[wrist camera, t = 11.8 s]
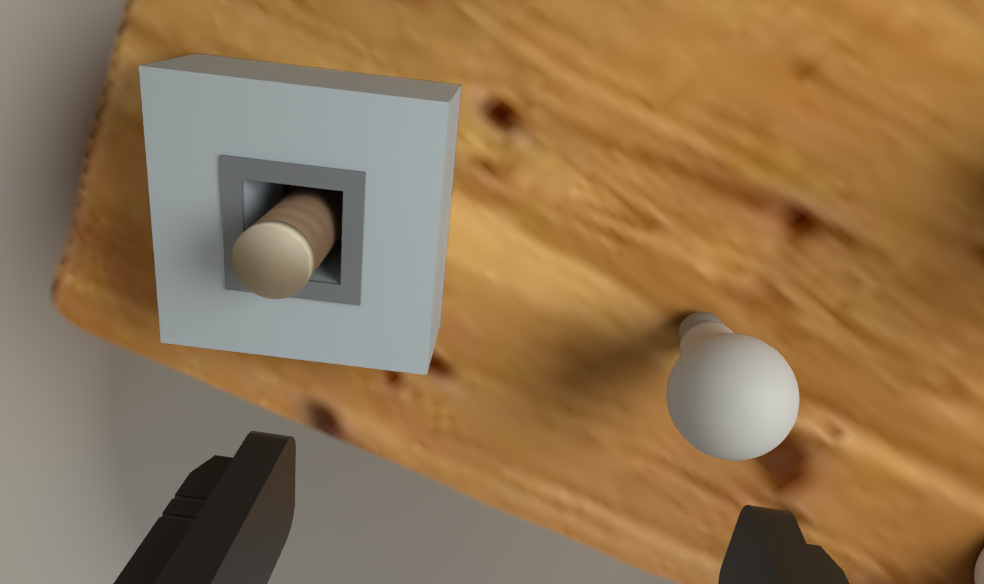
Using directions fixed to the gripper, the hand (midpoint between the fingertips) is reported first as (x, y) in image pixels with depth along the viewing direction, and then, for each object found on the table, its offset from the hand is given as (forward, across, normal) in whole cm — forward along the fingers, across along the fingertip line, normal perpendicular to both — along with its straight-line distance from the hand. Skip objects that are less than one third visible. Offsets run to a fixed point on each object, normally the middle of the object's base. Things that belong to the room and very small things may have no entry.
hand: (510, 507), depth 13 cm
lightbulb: (+29, -11, +9) cm, 32 cm away
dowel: (+28, +11, +5) cm, 31 cm away
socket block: (+28, +11, +5) cm, 31 cm away
